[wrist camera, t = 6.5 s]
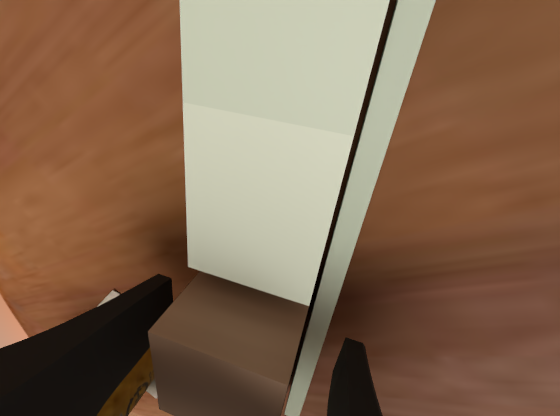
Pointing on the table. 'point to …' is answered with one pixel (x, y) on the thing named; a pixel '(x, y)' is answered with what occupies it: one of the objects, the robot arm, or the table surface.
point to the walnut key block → (225, 350)
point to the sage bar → (288, 140)
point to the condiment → (130, 384)
